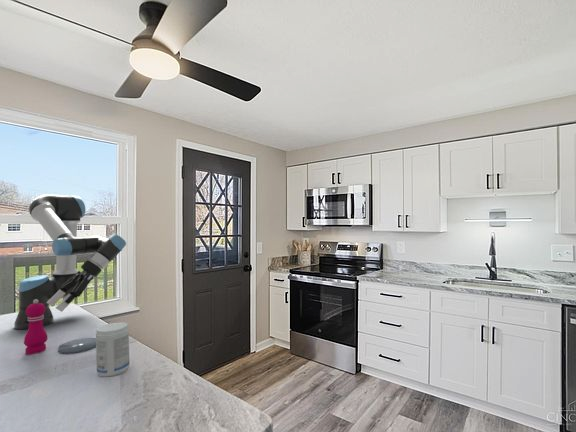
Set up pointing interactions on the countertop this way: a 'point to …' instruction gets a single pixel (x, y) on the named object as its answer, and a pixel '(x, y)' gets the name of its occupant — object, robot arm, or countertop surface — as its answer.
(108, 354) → the supplement tub
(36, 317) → the pepper mill
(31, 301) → the robot arm
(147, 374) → the countertop surface
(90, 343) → the saucer
